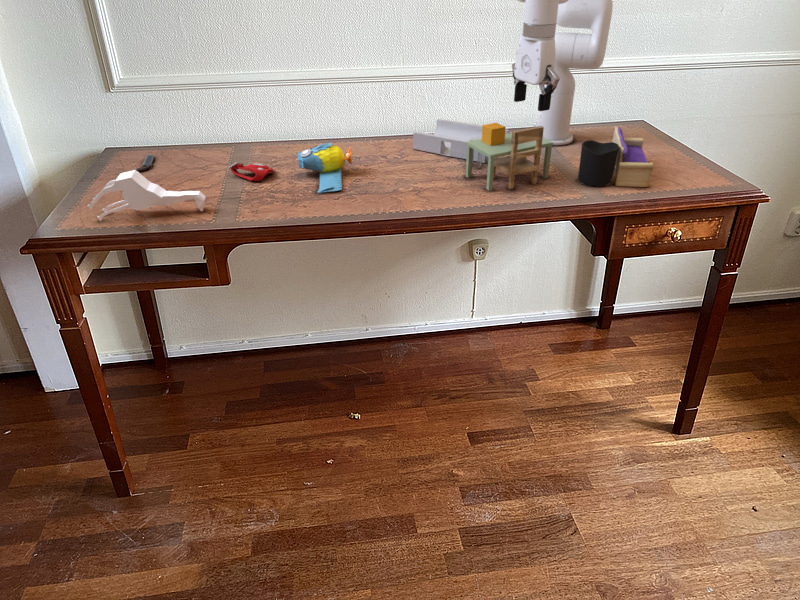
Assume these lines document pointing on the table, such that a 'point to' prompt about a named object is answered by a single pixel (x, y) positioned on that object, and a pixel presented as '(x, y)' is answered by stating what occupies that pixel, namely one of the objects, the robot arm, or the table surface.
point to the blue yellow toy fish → (325, 165)
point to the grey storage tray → (451, 140)
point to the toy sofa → (631, 161)
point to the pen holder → (597, 163)
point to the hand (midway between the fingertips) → (531, 105)
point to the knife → (146, 163)
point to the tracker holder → (256, 168)
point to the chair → (522, 155)
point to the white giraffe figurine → (144, 194)
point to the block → (493, 134)
